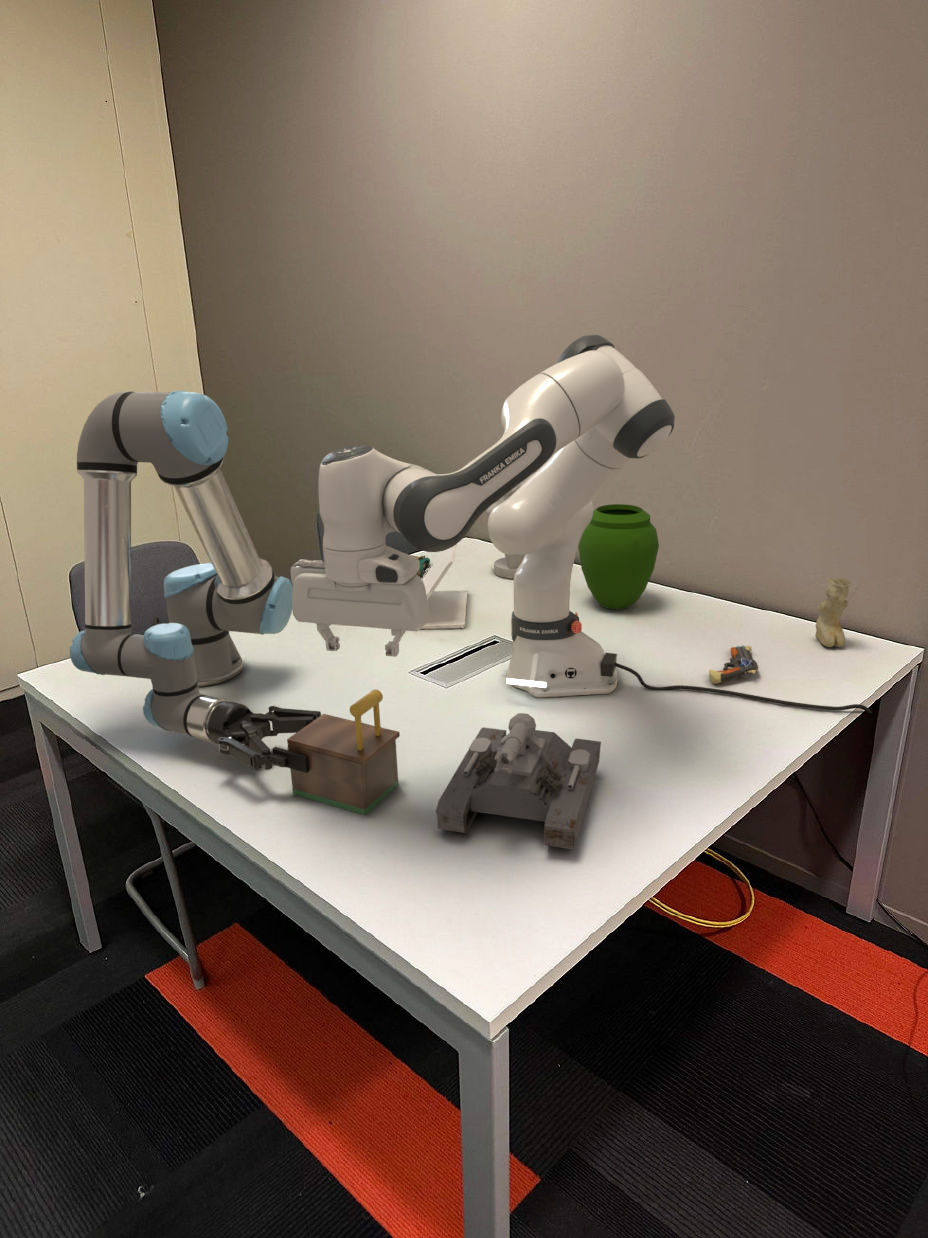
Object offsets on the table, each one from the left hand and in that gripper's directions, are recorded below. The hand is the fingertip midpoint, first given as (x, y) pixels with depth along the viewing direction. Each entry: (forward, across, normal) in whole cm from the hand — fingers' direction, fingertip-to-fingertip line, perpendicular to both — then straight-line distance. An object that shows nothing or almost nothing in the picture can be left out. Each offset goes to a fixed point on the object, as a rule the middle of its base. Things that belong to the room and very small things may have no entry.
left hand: (327, 749), depth 136 cm
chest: (+3, 0, -7) cm, 7 cm away
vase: (+15, -100, -7) cm, 101 cm away
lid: (+3, 0, +2) cm, 4 cm away
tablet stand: (-26, -78, -7) cm, 82 cm away
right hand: (+8, 0, +18) cm, 20 cm away
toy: (+30, -9, -7) cm, 32 cm away
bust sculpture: (-16, -114, -7) cm, 115 cm away
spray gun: (-49, -105, -7) cm, 116 cm away
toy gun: (+49, -73, -7) cm, 88 cm away
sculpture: (+65, -95, -7) cm, 115 cm away
